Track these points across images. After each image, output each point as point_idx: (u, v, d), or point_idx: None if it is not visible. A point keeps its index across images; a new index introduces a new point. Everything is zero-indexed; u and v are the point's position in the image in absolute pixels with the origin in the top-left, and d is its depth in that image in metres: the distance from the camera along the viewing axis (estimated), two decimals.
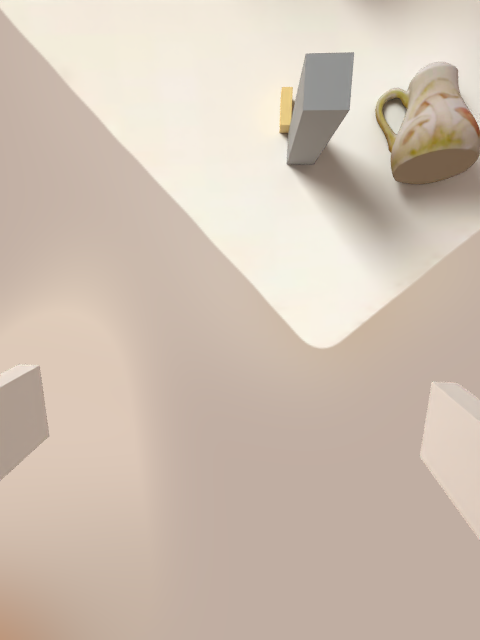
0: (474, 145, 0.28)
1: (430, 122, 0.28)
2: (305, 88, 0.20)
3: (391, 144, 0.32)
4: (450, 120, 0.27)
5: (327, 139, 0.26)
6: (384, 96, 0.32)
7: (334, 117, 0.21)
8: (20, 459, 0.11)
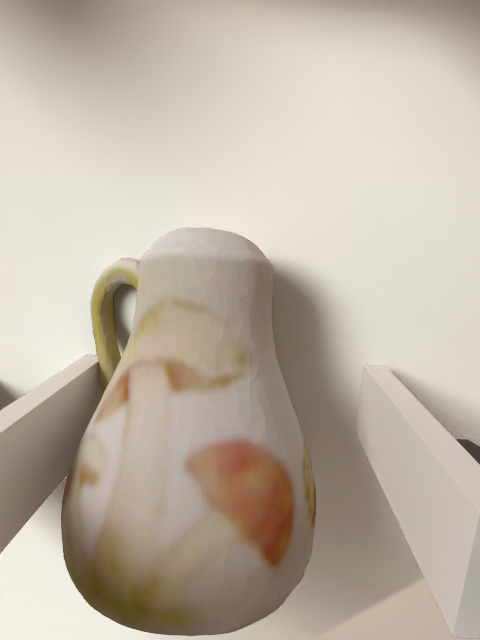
0: (254, 608, 0.07)
1: (98, 497, 0.07)
2: None
3: None
4: (153, 520, 0.07)
5: None
6: (104, 277, 0.12)
7: None
8: None
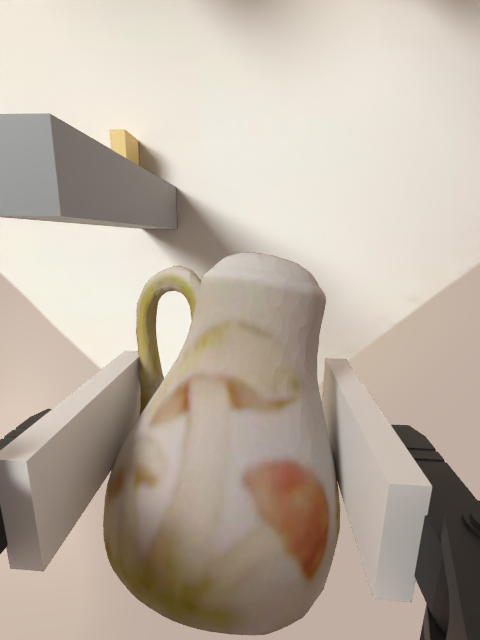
0: (287, 615, 0.08)
1: (156, 499, 0.08)
2: None
3: None
4: (210, 527, 0.07)
5: (129, 224, 0.17)
6: (156, 282, 0.12)
7: (65, 218, 0.12)
8: None
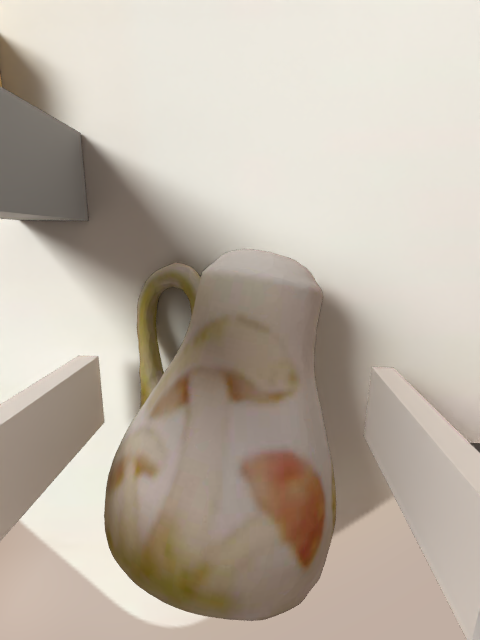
0: (284, 601, 0.08)
1: (156, 488, 0.08)
2: None
3: None
4: (209, 515, 0.07)
5: None
6: (156, 278, 0.12)
7: None
8: (84, 442, 0.12)
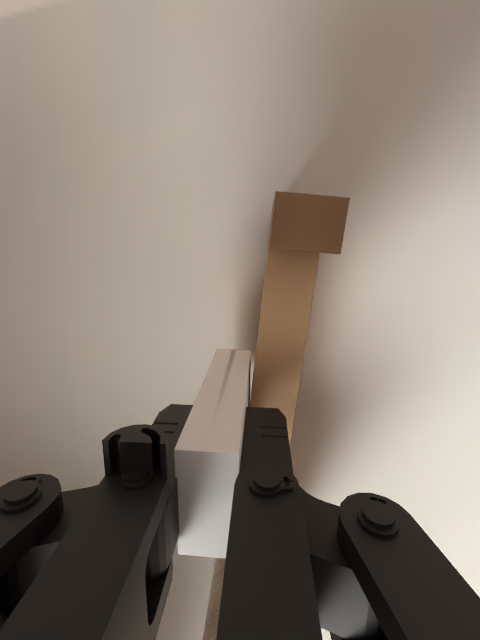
0: None
1: None
2: None
3: None
4: None
5: None
6: None
7: None
8: None
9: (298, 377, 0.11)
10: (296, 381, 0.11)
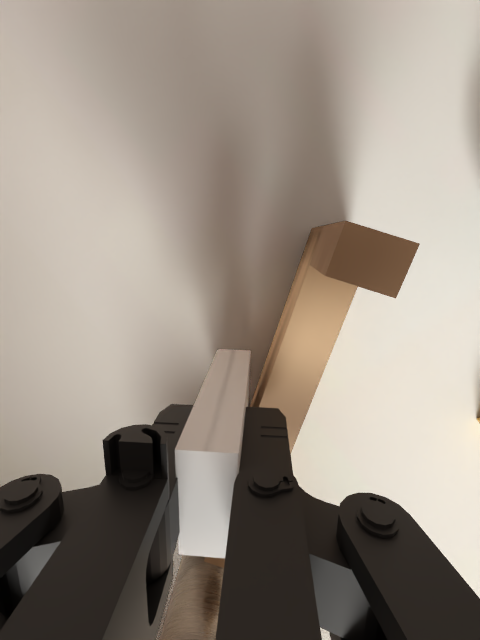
0: None
1: None
2: None
3: None
4: None
5: None
6: None
7: None
8: None
9: (309, 401, 0.11)
10: (306, 405, 0.11)
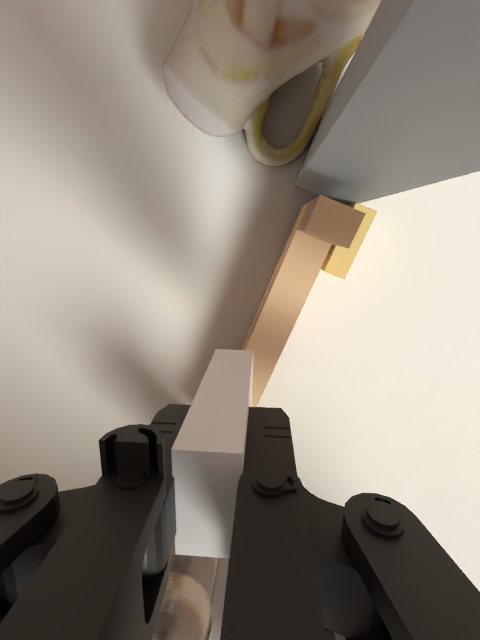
0: None
1: None
2: None
3: (354, 44, 0.13)
4: None
5: None
6: (276, 158, 0.16)
7: None
8: None
9: (288, 333, 0.15)
10: (286, 335, 0.15)
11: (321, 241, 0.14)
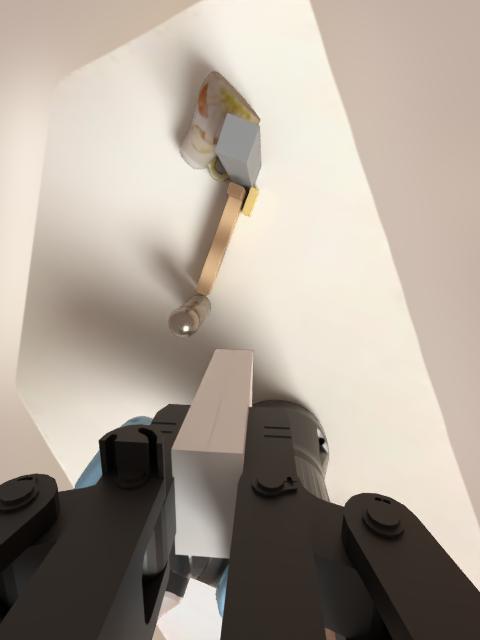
0: (215, 79, 0.34)
1: None
2: (253, 140, 0.27)
3: None
4: (216, 111, 0.35)
5: None
6: (220, 177, 0.42)
7: None
8: None
9: (228, 235, 0.40)
10: (227, 236, 0.40)
11: (237, 200, 0.39)
